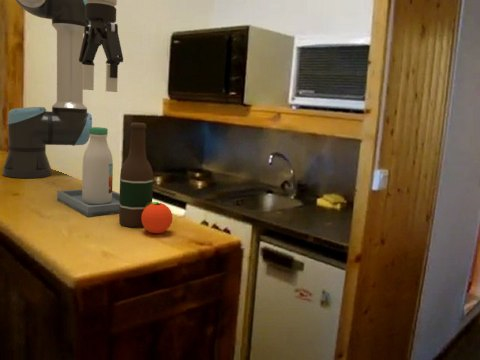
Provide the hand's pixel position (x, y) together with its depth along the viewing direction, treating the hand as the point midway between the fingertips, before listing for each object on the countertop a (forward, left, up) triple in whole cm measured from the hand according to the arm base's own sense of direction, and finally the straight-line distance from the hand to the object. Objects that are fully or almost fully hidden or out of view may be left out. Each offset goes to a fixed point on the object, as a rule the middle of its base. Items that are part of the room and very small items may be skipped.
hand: (99, 90), depth 117 cm
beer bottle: (+18, +9, -31) cm, 37 cm away
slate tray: (0, 0, -30) cm, 31 cm away
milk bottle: (0, 0, -30) cm, 30 cm away
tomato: (+25, +13, -31) cm, 42 cm away
